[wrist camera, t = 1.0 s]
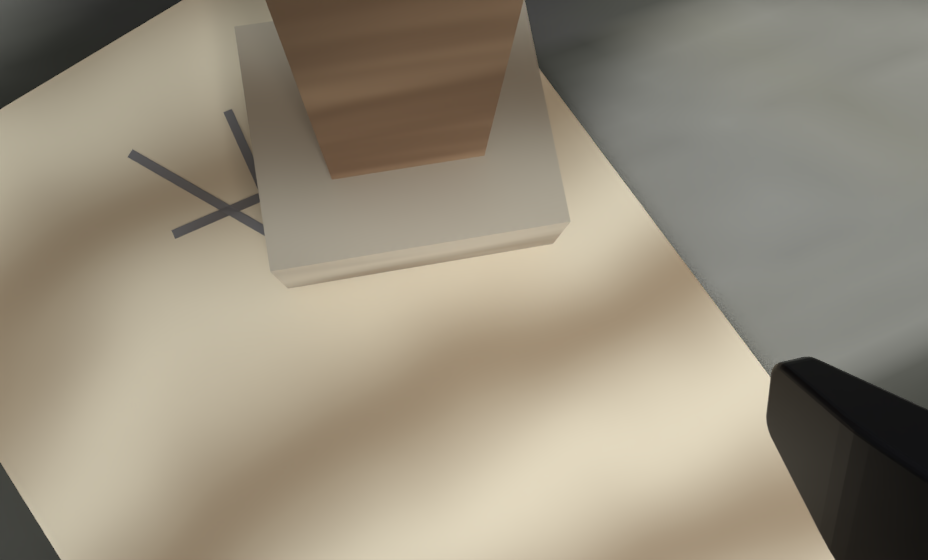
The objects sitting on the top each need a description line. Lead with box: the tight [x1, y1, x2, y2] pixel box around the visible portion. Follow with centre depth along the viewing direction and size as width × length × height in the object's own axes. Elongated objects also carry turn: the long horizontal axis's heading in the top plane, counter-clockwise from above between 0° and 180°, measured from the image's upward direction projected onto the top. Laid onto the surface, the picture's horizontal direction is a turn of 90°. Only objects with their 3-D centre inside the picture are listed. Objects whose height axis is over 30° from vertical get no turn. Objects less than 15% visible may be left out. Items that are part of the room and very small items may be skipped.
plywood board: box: [0, 0, 835, 560], centre depth 21 cm, size 26×17×2 cm, turn 35°
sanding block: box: [234, 0, 571, 288], centre depth 16 cm, size 6×7×12 cm
